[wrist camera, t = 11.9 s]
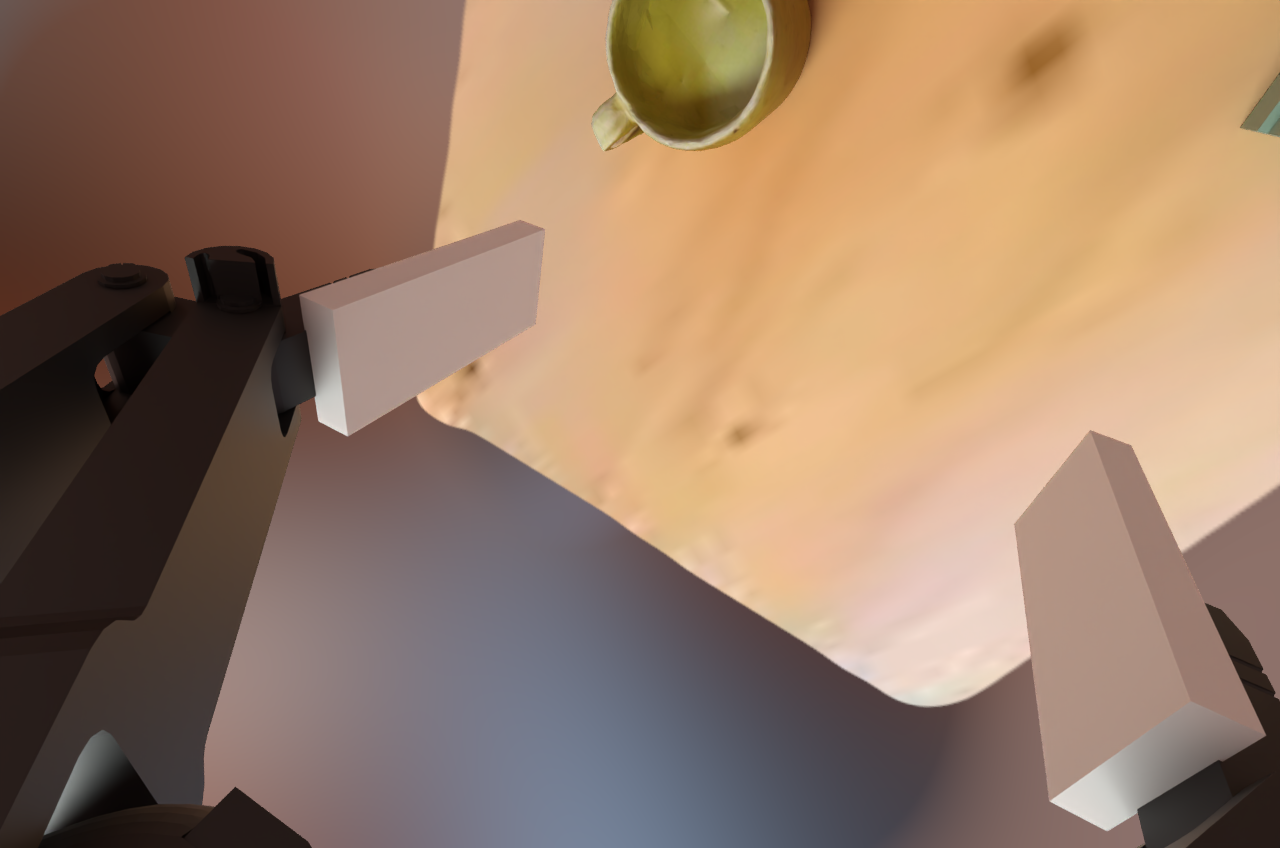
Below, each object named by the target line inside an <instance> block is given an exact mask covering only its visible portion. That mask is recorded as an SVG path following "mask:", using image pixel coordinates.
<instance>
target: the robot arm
mask: <svg viewBox="0 0 1280 848" xmlns="http://www.w3.org/2000/svg"><path fill="white" fill-rule="evenodd" d="M544 235H545V229H543V228H540V227H538V226H535V225H532V224H530V223H527V222H524V221H521V220H519V221H516V222H513V223H510V224H507V225H504V226H501V227H498V228H495V229H493V230H490V231H487V232H484V233H481V234H478V235H475V236H472V237H469V238H466V239H463V240H460V241H457V242H454V243H451V244H448V245H445V246H442V247H439V248H436V249H433V250H430V251H428V252H425V253H422V254H419V255H416V256H413V257H410V258H407V259H404V260H401V261H398V262H395V263H392V264H389V265H386V266H383V267H380V268H377V269H369V270H366V271H363V272H360V273H357V274H354V275H351V276H350V277H349V278H346V277H345V278H342V279H339V280H336V281H334V282H333V284H331V283H328V284H325V285H322V286H319V287H316V288H313V289H310V290H307V291H304V292H301V293H298V294H295V295H292V296H289V297H286V298H283V299H281V298H280V292H279V286H278V281H277V275H276V270H275V264H274V258H273V257H272V256H270V255H269V254H268V253H266V252H263V251H261V250H258V249H254V248H247V247H241V246H218V247H210V248H204V249H201V250H198V251H195V252H192V253H190V254H189V255H187V256H186V257H185V261H186V264H187V268H188V271H189V276H190V279H191V283H192V287H193V291H194V295H195V298H196V301H192V300H187V299H183V298H178V297H174V295H173V291H172V288H171V284H170V281H169V277H168V275H167V274H166V273H165V272H163V271H162V270H160V269H157V268H153V267H150V266H143V265H135V264H132V263H123V265H121V263H119V264H111V265H109V266H106V267H101V268H96V269H93V270H90V271H88V272H85V273H82V274H80V275H78V276H76V277H75V278H73V279H71V280H69V281H67V282H65V283H63V284H61V285H59V286H57V287H56V288H53V289H51V290H49V291H48V292H46V293H44V294H42V295H40V296H38V297H36V298H34V299H32V300H30V301H28V302H26V303H25V304H22V305H21V306H19V307H17V308H15V309H13V310H11V311H9V312H7V313H5V314H3V315H1V316H0V848H312V847H311V846H310V844H309V843H308V841H306V840H305V839H304V838H302V837H301V836H300V835H299V834H297V833H296V832H295V831H293V830H292V829H291V828H289V827H288V826H286V825H285V824H284V823H283V822H281V821H280V820H279V819H277V818H276V817H275V816H273V815H272V814H271V813H269V812H268V811H267V810H265V809H264V808H263V807H261V806H260V805H259V804H257V803H256V802H255V801H253V800H252V799H251V798H250V797H248V796H247V795H246V794H244V793H243V792H242V791H240V790H239V789H238V788H236V787H235V788H234V789H233V790H232V791H231V792H230V793H229V794H228V795H227V796H226V797H225V798H224V799H223V800H222V801H221V802H220V803H219V804H218V805H217V806H216V807H212V806H204V805H202V801H203V791H204V750H205V743H206V739H207V734H208V731H209V727H210V724H211V721H212V717H213V714H214V711H215V707H216V704H217V700H218V697H219V694H220V690H221V687H222V683H223V680H224V677H225V673H226V670H227V667H228V664H229V660H230V657H231V654H232V650H233V647H234V643H235V640H236V637H237V634H238V630H239V627H240V623H241V620H242V617H243V613H244V610H245V607H246V603H247V600H248V597H249V593H250V590H251V586H252V583H253V580H254V577H255V573H256V570H257V566H258V563H259V560H260V556H261V553H262V550H263V546H264V543H265V539H266V536H267V533H268V530H269V526H270V523H271V519H272V516H273V513H274V510H275V506H276V503H277V499H278V496H279V493H280V489H281V486H282V483H283V479H284V476H285V473H286V469H287V466H288V463H289V459H290V456H291V453H292V449H293V446H294V442H295V439H296V436H297V432H298V429H299V426H300V422H301V413H300V407H299V404H301V403H303V402H305V401H307V400H309V399H311V398H313V397H315V401H316V407H317V414H318V420H319V422H321V423H323V424H325V425H327V426H329V427H331V428H333V429H335V430H337V431H338V432H340V433H342V434H344V435H346V436H349V435H351V434H353V433H354V432H356V431H358V430H359V429H361V428H363V427H364V426H366V425H367V424H369V423H371V422H373V421H375V420H376V419H378V418H379V417H381V416H383V415H384V414H386V413H388V412H390V411H391V410H393V409H395V408H396V407H398V406H400V405H401V404H403V403H405V402H406V401H408V400H410V399H411V398H413V397H415V396H416V395H418V394H420V393H421V392H423V391H425V390H426V389H428V388H430V387H431V386H433V385H435V384H436V383H438V382H440V381H441V380H443V379H445V378H446V377H448V376H450V375H452V374H453V373H455V372H457V371H458V370H460V369H462V368H463V367H465V366H467V365H468V364H470V363H472V362H473V361H475V360H477V359H478V358H480V357H482V356H483V355H485V354H487V353H488V352H490V351H492V350H493V349H495V348H497V347H498V346H500V345H502V344H503V343H505V342H507V341H508V340H510V339H512V338H513V337H515V336H517V335H518V334H520V333H522V332H523V331H525V330H527V329H528V328H530V327H532V326H534V325H535V324H536V314H537V305H538V295H539V285H540V275H541V265H542V255H543V245H544ZM103 358H104V360H105V363H106V365H107V368H108V370H109V373H110V376H111V378H112V381H111V382H110V383H109V384H107V385H106V386H105V387H103V388H100V386H99V385H98V384H97V382H96V379H95V377H94V374H95V371H96V367H97V365H98V364H99V362H100V361H101V360H102V359H103ZM1014 525H1015V533H1016V540H1017V548H1018V556H1019V564H1020V572H1021V580H1022V588H1023V596H1024V604H1025V612H1026V620H1027V628H1028V635H1029V643H1030V651H1031V659H1032V667H1033V674H1034V683H1035V690H1036V698H1037V706H1038V715H1039V722H1040V730H1041V737H1042V745H1043V754H1044V762H1045V770H1046V777H1047V785H1048V793H1049V801H1050V802H1052V803H1054V804H1056V805H1058V806H1060V807H1061V808H1064V809H1065V810H1067V811H1069V812H1071V813H1073V814H1075V815H1077V816H1079V817H1081V818H1083V819H1085V820H1087V821H1089V822H1090V823H1092V824H1094V825H1096V826H1098V827H1100V828H1102V829H1104V830H1106V831H1108V830H1110V829H1112V828H1113V827H1115V826H1117V825H1118V824H1120V823H1122V822H1123V821H1125V820H1127V819H1128V818H1130V817H1132V816H1133V815H1135V814H1137V813H1138V815H1139V819H1140V823H1141V828H1142V831H1143V836H1144V840H1145V843H1144V844H1142V845H1140V846H1139V847H1137V848H1280V701H1279V699H1277V698H1275V697H1274V694H1275V691H1274V689H1273V687H1272V685H1271V683H1270V681H1269V679H1268V677H1267V675H1266V674H1263V673H1262V670H1263V667H1262V666H1261V664H1260V662H1259V660H1258V658H1257V656H1256V654H1255V652H1254V650H1253V648H1252V646H1251V644H1250V642H1249V640H1248V639H1247V638H1246V637H1245V636H1244V635H1243V633H1242V632H1241V631H1240V630H1239V629H1238V628H1237V627H1236V626H1235V625H1234V623H1233V622H1232V621H1231V620H1230V619H1229V618H1228V617H1227V616H1226V614H1225V613H1224V612H1223V611H1222V610H1221V609H1218V608H1216V607H1213V606H1211V605H1209V604H1206V603H1204V601H1203V599H1202V596H1201V595H1200V592H1199V590H1198V588H1197V586H1196V584H1195V582H1194V579H1193V577H1192V575H1191V573H1190V571H1189V569H1188V566H1187V565H1186V562H1185V560H1184V558H1183V556H1182V554H1181V551H1180V549H1179V547H1178V545H1177V543H1176V541H1175V539H1174V536H1173V534H1172V532H1171V530H1170V528H1169V526H1168V523H1167V521H1166V519H1165V517H1164V515H1163V513H1162V511H1161V508H1160V506H1159V504H1158V502H1157V500H1156V498H1155V496H1154V493H1153V491H1152V489H1151V487H1150V485H1149V483H1148V481H1147V478H1146V476H1145V474H1144V472H1143V470H1142V468H1141V466H1140V463H1139V461H1138V459H1137V457H1136V455H1135V453H1134V450H1133V448H1132V446H1131V445H1129V444H1126V443H1123V442H1121V441H1118V440H1115V439H1113V438H1110V437H1107V436H1104V435H1102V434H1099V433H1096V432H1094V431H1091V430H1090V431H1089V432H1088V434H1087V435H1086V436H1085V437H1084V439H1083V440H1082V441H1081V442H1080V444H1079V445H1078V446H1077V447H1076V448H1075V450H1074V451H1073V452H1072V453H1071V455H1070V456H1069V457H1068V458H1067V460H1066V461H1065V462H1064V463H1063V465H1062V466H1061V467H1060V468H1059V470H1058V471H1057V472H1056V473H1055V474H1054V476H1053V477H1052V478H1051V479H1050V481H1049V482H1048V483H1047V484H1046V486H1045V487H1044V488H1043V489H1042V491H1041V492H1040V493H1039V494H1038V496H1037V497H1036V498H1035V499H1034V500H1033V502H1032V503H1031V504H1030V505H1029V507H1028V508H1027V509H1026V510H1025V512H1024V513H1023V514H1022V515H1021V517H1020V518H1019V519H1018V520H1017V522H1016V523H1015V524H1014Z"/></svg>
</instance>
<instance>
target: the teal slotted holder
mask: <svg viewBox="0 0 1280 848" xmlns="http://www.w3.org/2000/svg"><path fill="white" fill-rule="evenodd" d="M1240 128H1243V129H1247V130H1251V131H1255V132H1260V133H1264V134H1268V135H1272V136H1276V137H1280V73H1279V75H1278V76H1277V78H1276V79H1275V80H1274V82H1273V83H1272V84H1271V86H1270V87H1269V89H1268V90H1267V91H1266V93H1265V94H1264V96H1263V97H1262V98H1261V100H1260V101H1259V102H1258V104H1257V105H1256V107H1255V108H1254V109H1253V111H1252V112H1251V114H1250V115H1249V116H1248V118H1247V119H1246V120H1245V122H1244V123H1243V125H1242V126H1241V127H1240Z"/></svg>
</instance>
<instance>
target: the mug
mask: <svg viewBox="0 0 1280 848" xmlns="http://www.w3.org/2000/svg"><path fill="white" fill-rule="evenodd" d="M810 34H811V14H810V10H809V5H808V0H613V1H612V4H611V7H610V11H609V17H608V24H607V32H606V55H607V62H608V66H609V70H610V74H611V76H612V79H613V82H614V86H615V89H616V93H615V94H614V95H613V96H612V97H611V98H609V99H608V100H607V101H606V102H604V103H603V104H602V105H601V106H600V107H599V108H598V110H597V111H596V112H595V113H594V114H593V118H592V128H593V131H594V134H595V136H596V138H597V141H598V143H599V145H600V147H601V149H602V150H603V151H608V150H611V149H614V148H616V147H618V146H619V145H621V144H622V143H625V142H628V141H629V140H631V139H632V138H634V137H636V136H637V135H640V134H642V133H645V134H647V135H648V136H649V137H651V138H652V139H654V140H655V141H657V142H658V143H660V144H663V145H665V146H668V147H670V148H674V149H678V150H686V151H703V150H708V149H713V148H718V147H721V146H723V145H726V144H729V143H731V142H733V141H735V140H737V139H739V138H740V137H742V136H743V135H745V134H746V133H747V132H749V131H750V130H751V129H753V128H754V127H755V126H756V125H758V124H759V123H760V122H761V121H762V120H763V119H764V118H766V117H767V116H768V115H769V114H770V113H772V112H773V111H774V110H775V109H776V108H777V107H778V106H779V105H780V104H781V103H782V102H783V101H784V100H785V99H786V98H787V96H788V95H789V94H790V92H791V91H792V89H793V88H794V86H795V84H796V82H797V81H798V79H799V77H800V75H801V72H802V69H803V67H804V64H805V61H806V57H807V54H808V49H809V44H810Z"/></svg>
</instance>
